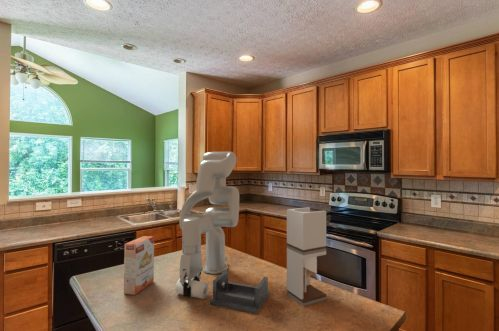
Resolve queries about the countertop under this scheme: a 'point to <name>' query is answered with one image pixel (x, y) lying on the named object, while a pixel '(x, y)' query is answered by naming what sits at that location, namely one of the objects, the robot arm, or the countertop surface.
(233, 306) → the roll holder
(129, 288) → the cracker box
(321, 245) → the white stand
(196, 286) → the kitchen roll
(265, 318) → the countertop surface
